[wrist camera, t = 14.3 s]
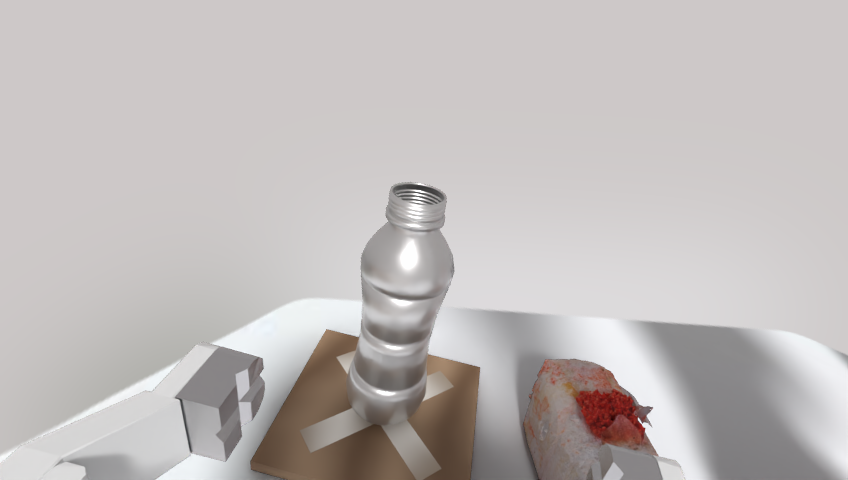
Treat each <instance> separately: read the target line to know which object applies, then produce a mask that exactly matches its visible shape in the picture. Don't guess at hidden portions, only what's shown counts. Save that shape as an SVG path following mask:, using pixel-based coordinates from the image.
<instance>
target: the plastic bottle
mask: <svg viewBox="0 0 848 480" xmlns="http://www.w3.org/2000/svg"><path fill="white" fill-rule="evenodd" d="M446 202H447V201H446V195H445V194H444V193H443V192H442V191H440V190H439V189H437V188H434V187H432V186H429V185H426V184H421V183H412V182H407V183H406V182H405V183H399V184H396V185H394V186H392V187H391V190H390V193H389V202H388V206H387V207H386V218H387V219H388V222H387V223H386V224H385V225H384V226H383V227H382V228H380V229H379V230H378V231H377V232H376V233H375V234H374V235H373V237H372V238H371V239H370V240H369V241H368V243H367V245H366V247H365V249H364V251H363V253H362V257H361V278H362V279H361V280H362V299H363V303H362V321H361V331H360V336H359V340H358V344H357V348H356V353H355V356H354V358H353V360H352V362H351V365H350V368H349V371H348V375H347V379H346V387H347V395H348V400H349V403H350V405H351V407H352V408H353V410H354V411H355V412H356V413H357V414H358V415H359V416H361V417H362V418H363V419H365V420H366V421H368V422H370V423H373V424H377V425H384V426H386V425H394V424H398V423H400V422H403V421H405V420H407V419H409V418H410V417H412V416H413V415H414V414H415V413H416V412H417V410H418V408H419V406H420V405H421V403H422V401H423V399H424V397H425V393H426V385H427V368H426V365H427V357H428V348H429V340H430V337H431V334H432V330H433V327H434V323H435V320H436V317H437V314H438V312H439V309H440V307H441V305H442V302H443V300H444V298H445V295H446V293H447V291H448V288H449V286H450V283H451V280H452V277H453V273H454V264H453V255H452V253H451V251H450V249H449V246H448V244H447V242H446V240H445V238H444V237H443V235H442V233H441V232H440V230H439V229H440V228H442V226H443V225H444V221H445V215H444V213H445V207H446Z"/></svg>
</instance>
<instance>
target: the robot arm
mask: <svg viewBox="0 0 848 480" xmlns="http://www.w3.org/2000/svg"><path fill="white" fill-rule="evenodd" d="M263 369H264V367H263V359H262V358H260V357H257V356H253V355H249V354H246V353H242V352H239V351H235V350H232V349H228V348H225V347H220V346H217V345H213V344H209V343H205V342H201V343H199V344H197V345H196V346H194V348H193V349H192V350H191V351H190V352H189V353H188V354H187V355H186V356H185V357H184V358H183V359H182V360H181V361H180V362H179V363H178V364H177V365H176V367H175V368H174V369H173V370H172V371H171V372H170V373H169V374H168V375H167V376H166V377H165V378H164V379H163V380H162V381H161V382H160V383H159V385H158V386H157V387H156V388H155V389H154V390H153V391H152V392H150V391H143V392H141V393H139V394H137V395H134V396H132V397H130V398H128V399H125V400H123V401H121V402H119V403H116V404H114V405H112V406H110V407H107V408H105V409H103V410H100V411H98V412H96V413H94V414H91V415H89V416H87V417H85V418H82V419H80V420H78V421H76V422H73V423H71V424H69V425H66V426H64V427H62V428H60V429H57V430H55V431H53V432H51V433H48V434H46V435H44V436H42V437H39V438H37V439H35V440H33V441H30V442H28V443H26V444H23V445H21V446H20V447H18V448H17V449H16V450H15V451H14V452H13V453H12V454H11V455H9V456H8V457H7V458H6V459H5V460H4V461H3V462H2V463H0V480H155V479H157V478H158V477H160V476H161V475H163V474H164V473H166V472H167V471H169V470H170V469H171V468H173V467H174V466H176V465H177V464H179V463H180V462H182V461H183V460H185V459H186V458H188V457H189V456H190V455H191V454H190V453H192V454H196V455H200V456H204V457H209V458H213V459H217V460H221V461H225V462H226V461H227V459H228V458H229V456H230V454H231V453H232V451H233V450H234V448H235V447H236V445H237V444H238V442H239V440H240V439H241V437H242V432H241V426H243V425H245V424H247V423H249V422H250V421H252V420H253V418H254V417H255V415H256V413H257V412H258V410H259V407H260V405H261V402H262V400H263V396H264V390H265V383H264V380H263V379H262V378H261V377H260V373H261V372H262V370H263ZM598 457H599V462H598V463H595V464H593V465H591V467H590V469H589V471H588V473H587V476H586V480H685V477H684V475H683V472H682V469H681V466H680V465H679V464H678V462H677V461H675V460H671V459H667V458H663V457H659V456H655V455H650V454H648V453H644V452H640V451H636V450H631V449H627V448H623V447H619V446H615V445H610V444H604V445H603V446H602V447H601V448H600V450H599V452H598Z"/></svg>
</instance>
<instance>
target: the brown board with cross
mask: <svg viewBox="0 0 848 480" xmlns="http://www.w3.org/2000/svg"><path fill="white" fill-rule="evenodd" d="M358 340H359V337H355V336H351V335H347V334H343V333H339V332H335V331H331V330H327V329H326V331H325V333H324V334H323V336H322V338H321V340H320V341H319V343H318V345H317V347H316V348H315V350H314V352H313V354H312V355H311V357H310V359H309V361H308V362H307V364H306V366H305V368H304V369H303V371H302V373H301V374H300V376H299V378H298V380H297V381H296V383H295V385H294V387H293V388H292V390H291V392H290V394H289V395H288V397H287V399H286V401H285V402H284V404H283V406H282V407H281V409H280V411H279V413H278V414H277V416H276V418H275V420H274V421H273V423H272V425H271V427H270V428H269V430H268V432H267V434H266V435H265V437H264V439H263V441H262V442H261V444H260V446H259V447H258V449H257V451H256V453H255V454H254V456H253V458H252V460H251V470H254V471H258V472H262V473H265V474H269V475H272V476H276V477H280V478H283V479H287V480H470V477H471V465H472V454H473V443H474V431H475V420H476V409H477V397H478V386H479V374H480V367H476V366H472V365H468V364H464V363H460V362H456V361H452V360H448V359H444V358H440V357H436V356H432V355H428V357H427V365H426V368H427V385H426V393H425V397H424V399H423V401H422V403H421V405H420V406H419V408H418V410H417V412H416V413H415V414H414V415H413V416H412V417H410V418H409V419H407V420H405V421H403V422H400V423H398V424H394V425H386V426H384V425H377V424H373V423H370V422H368V421H366V420H365V419H363V418H362V417H361V416H359V415H358V414H357V413H356V412H355V411H354V410H353V408H352V407H351V405H350V403H349V400H348V395H347V387H346V379H347V375H348V371H349V368H350V365H351V362H352V360H353V358H354V356H355V353H356V348H357V344H358Z"/></svg>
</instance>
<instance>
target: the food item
mask: <svg viewBox="0 0 848 480" xmlns="http://www.w3.org/2000/svg"><path fill="white" fill-rule="evenodd" d="M532 391H533V393H532V395H531V394H530V395H529V398H530V399H531V400H530V403H529V406H528V410H527V413H526V416H525V420H524V423H523V425H524V428H525V433H526V437H527V442H528V446H529V449H530V452H531V455H532V458H533V461H534V464H535V467H536V470H537V474H538V478H539V480H586V476H587V473H588V471H589V469H590V467H591V465H593V464H595V463H598V462H599V457H598V452H599V450H600V448H601V447H602V446H603V445H604V444H610V445H615V446H619V447H623V448H627V449H631V450H636V451H640V452H644V453H648V454H650V455H655V456H658V454H657V453H656V451H655V449H654V447H653V446H652V444H651V442H650V441H649V439H648V437H647V435H646V433H645V428H644V427H643V426H642V424H643V422H646V423H649V425H650V426H651V424H650V421H649V420H648V418H647V417H646V415H647V414H648V413H650V411H651V410H652V409H653V407H649V406H647V407H643V406H641V405H639V404H638V402H637V400H636V399H635V397H634V396H633V395H631V394H630V393H629V392H628V391H626V390H625V389H624V388H622V387H621V386H619V384H618V382H617V381H616V379H615V378H614V375H613V374H612V373H611V372H610V371H609V370H607V369H605V368H604V367H602V366H600V365H598V364H595V363H593V362H588V361H581V360H577V359H570V360H568V359H556V360H551V359H545V362H544V364H543V366H542V368H541V370H540V372H539V373H538V379H537V381H536V382H535V384H534V386H533V389H532ZM650 409H651V410H650ZM635 415H636V416H635ZM638 417H639V418H640V420H641V422H642V424H641V423H640V422H639V421H638ZM651 427H652V426H651Z"/></svg>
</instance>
